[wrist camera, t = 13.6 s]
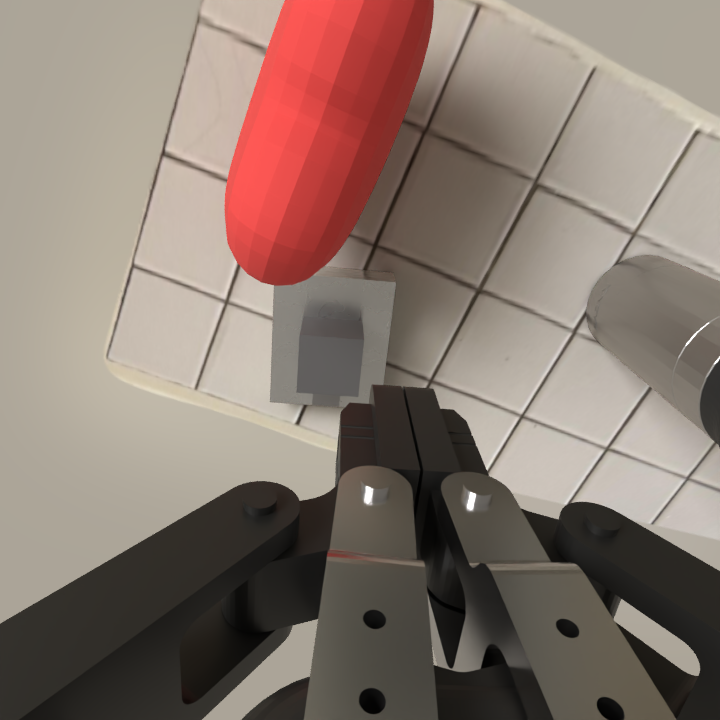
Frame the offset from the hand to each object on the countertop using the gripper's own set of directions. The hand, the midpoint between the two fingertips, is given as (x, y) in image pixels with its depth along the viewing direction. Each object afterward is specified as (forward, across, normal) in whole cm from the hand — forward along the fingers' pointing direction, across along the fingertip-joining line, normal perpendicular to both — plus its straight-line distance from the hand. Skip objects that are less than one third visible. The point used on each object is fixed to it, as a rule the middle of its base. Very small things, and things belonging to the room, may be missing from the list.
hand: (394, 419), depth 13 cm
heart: (+35, +3, -6) cm, 36 cm away
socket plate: (+35, +2, +11) cm, 37 cm away
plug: (+35, +1, +11) cm, 37 cm away
